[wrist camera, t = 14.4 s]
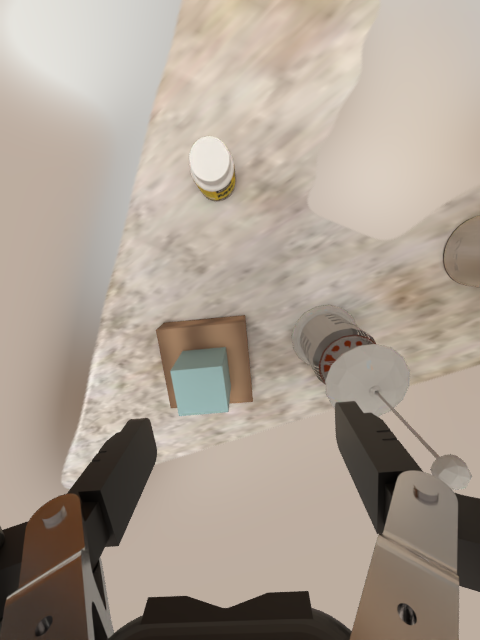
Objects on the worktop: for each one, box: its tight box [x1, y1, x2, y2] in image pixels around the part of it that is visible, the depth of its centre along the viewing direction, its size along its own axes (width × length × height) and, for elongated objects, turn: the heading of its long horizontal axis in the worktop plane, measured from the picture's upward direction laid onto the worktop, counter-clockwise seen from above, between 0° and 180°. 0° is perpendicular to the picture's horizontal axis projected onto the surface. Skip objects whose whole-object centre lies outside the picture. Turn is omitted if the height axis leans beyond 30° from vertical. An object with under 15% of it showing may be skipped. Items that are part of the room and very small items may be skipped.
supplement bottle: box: [189, 136, 235, 201], centre depth 29 cm, size 5×5×8 cm
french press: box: [292, 305, 472, 490], centre depth 27 cm, size 10×12×25 cm
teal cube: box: [170, 347, 231, 416], centre depth 33 cm, size 6×6×6 cm
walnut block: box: [156, 315, 253, 408], centre depth 38 cm, size 12×12×4 cm
